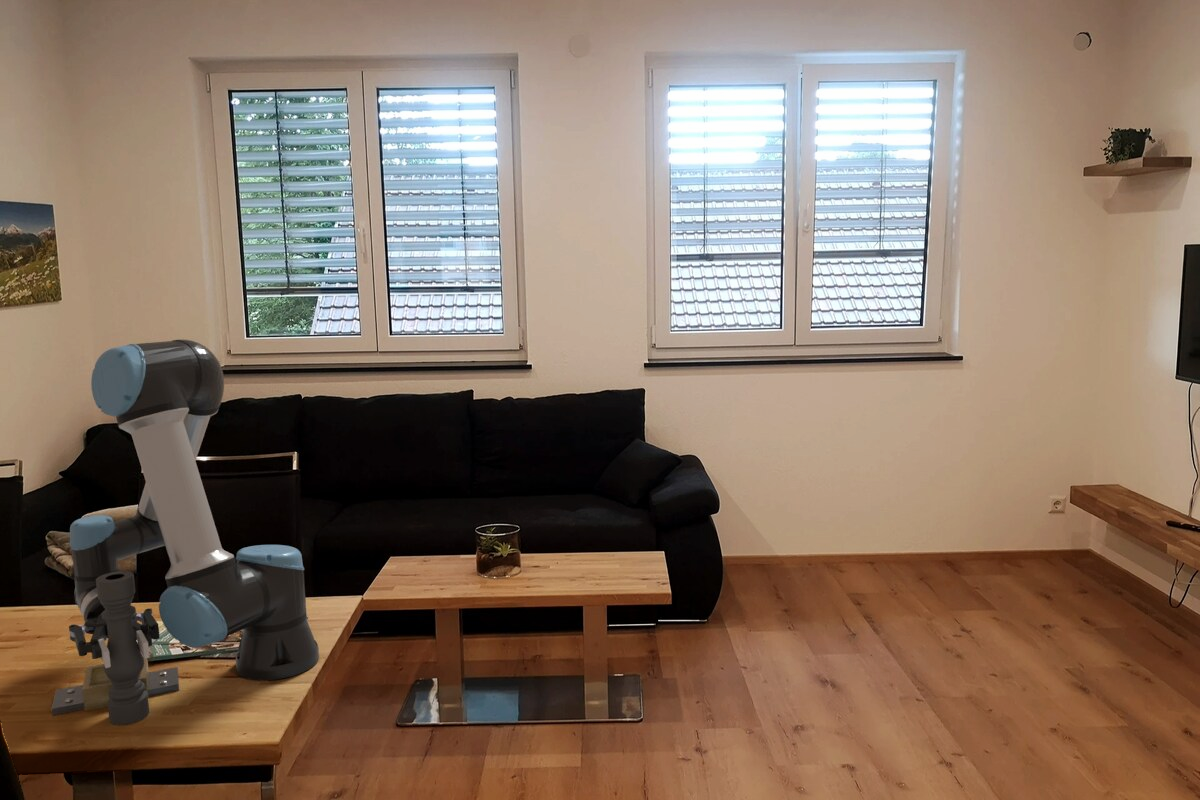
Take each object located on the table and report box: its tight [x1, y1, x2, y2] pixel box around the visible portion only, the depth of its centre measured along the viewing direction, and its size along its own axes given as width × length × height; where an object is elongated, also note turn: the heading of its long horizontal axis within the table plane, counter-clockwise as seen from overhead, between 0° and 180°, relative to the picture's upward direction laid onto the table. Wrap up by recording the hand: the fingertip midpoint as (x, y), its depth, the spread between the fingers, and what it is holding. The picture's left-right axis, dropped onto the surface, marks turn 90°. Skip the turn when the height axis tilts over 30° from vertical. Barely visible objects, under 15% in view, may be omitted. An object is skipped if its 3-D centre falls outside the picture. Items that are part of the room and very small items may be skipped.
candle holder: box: [96, 570, 151, 726], centre depth 157 cm, size 6×6×25 cm
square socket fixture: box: [51, 657, 180, 716], centre depth 167 cm, size 20×10×4 cm, turn 115°
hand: (127, 654), depth 152 cm, fingers closed on candle holder, 5 cm apart
